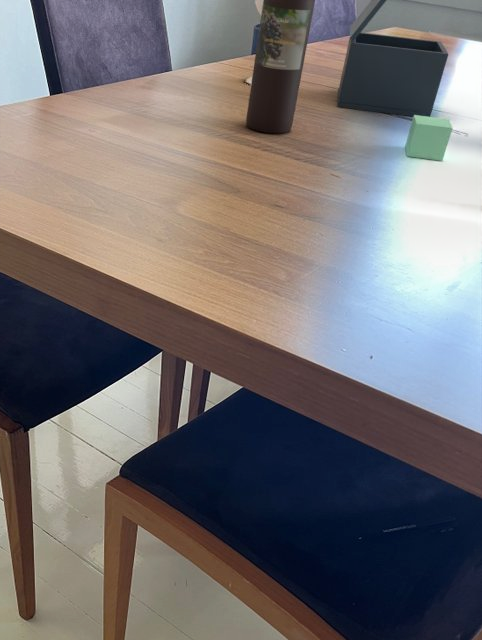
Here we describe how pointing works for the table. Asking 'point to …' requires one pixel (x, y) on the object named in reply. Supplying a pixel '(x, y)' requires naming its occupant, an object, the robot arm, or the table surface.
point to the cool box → (392, 74)
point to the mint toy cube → (428, 137)
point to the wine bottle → (278, 64)
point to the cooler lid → (365, 17)
